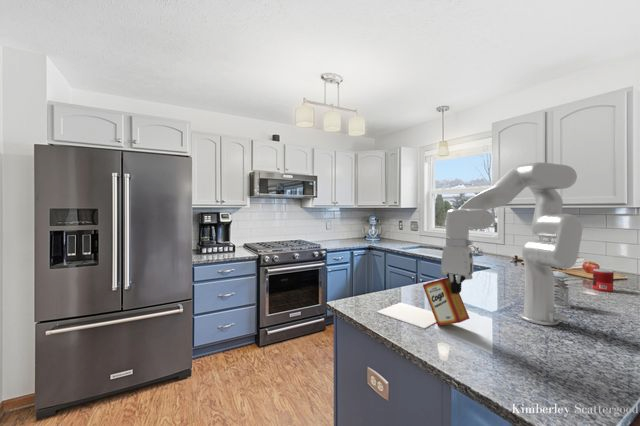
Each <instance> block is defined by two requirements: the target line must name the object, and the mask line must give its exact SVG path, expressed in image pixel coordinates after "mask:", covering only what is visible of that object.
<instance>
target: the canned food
mask: <svg viewBox="0 0 640 426" xmlns="http://www.w3.org/2000/svg"><path fill="white" fill-rule="evenodd" d="M592 289H593V290H595V291H598V292H605V293H612V292H613V291H614V270H611V269H605V268H593V270H592Z"/></svg>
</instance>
